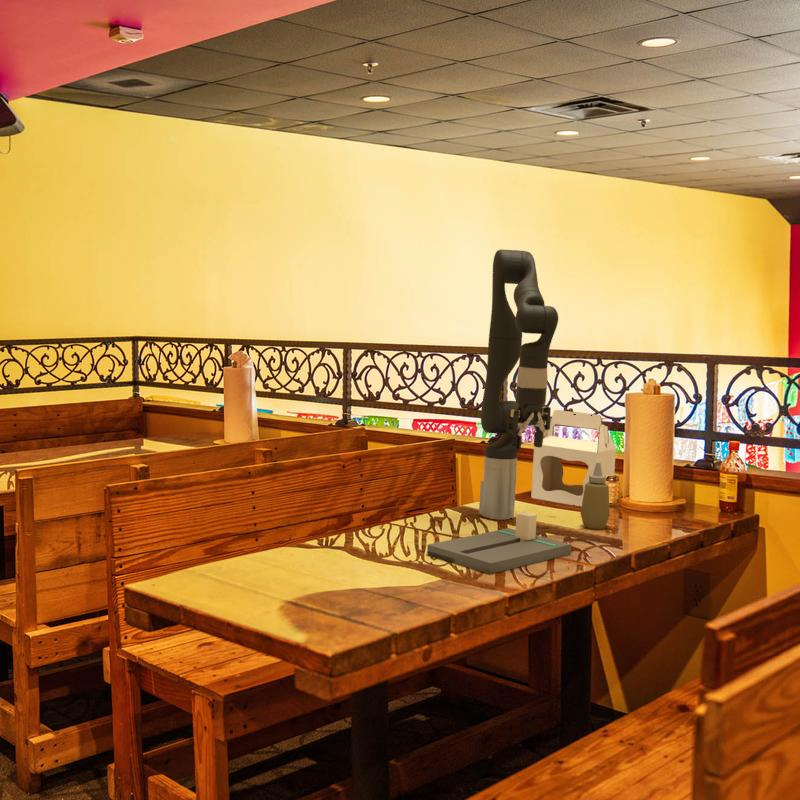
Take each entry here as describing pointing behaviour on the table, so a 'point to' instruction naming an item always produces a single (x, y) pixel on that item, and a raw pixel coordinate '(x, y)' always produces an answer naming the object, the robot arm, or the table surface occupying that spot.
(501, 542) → the panel
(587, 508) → the squeeze bottle
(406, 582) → the table surface
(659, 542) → the table surface
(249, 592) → the table surface
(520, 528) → the fader tab
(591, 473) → the gable box
